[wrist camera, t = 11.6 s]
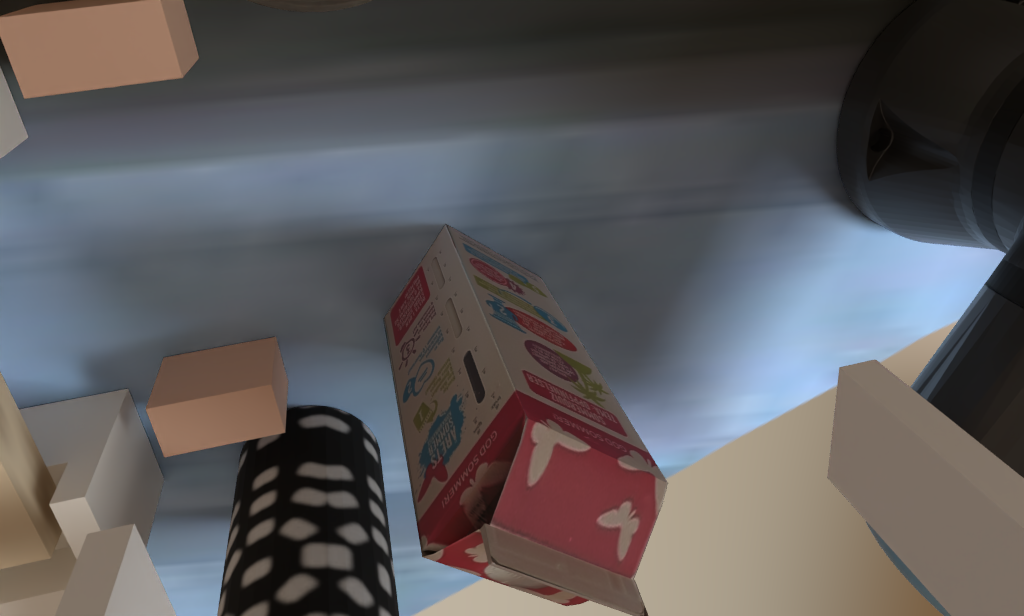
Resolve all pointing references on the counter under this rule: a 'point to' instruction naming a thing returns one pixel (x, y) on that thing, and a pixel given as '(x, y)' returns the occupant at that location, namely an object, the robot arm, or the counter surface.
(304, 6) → the coffee can
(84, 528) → the end caps
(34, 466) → the birch slat
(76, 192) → the counter surface
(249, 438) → the plain brown rectangular block
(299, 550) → the spotted tube
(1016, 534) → the robot arm
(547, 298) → the juice carton
